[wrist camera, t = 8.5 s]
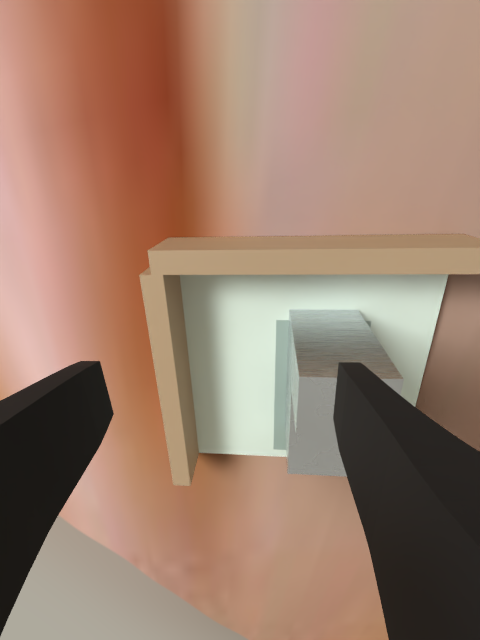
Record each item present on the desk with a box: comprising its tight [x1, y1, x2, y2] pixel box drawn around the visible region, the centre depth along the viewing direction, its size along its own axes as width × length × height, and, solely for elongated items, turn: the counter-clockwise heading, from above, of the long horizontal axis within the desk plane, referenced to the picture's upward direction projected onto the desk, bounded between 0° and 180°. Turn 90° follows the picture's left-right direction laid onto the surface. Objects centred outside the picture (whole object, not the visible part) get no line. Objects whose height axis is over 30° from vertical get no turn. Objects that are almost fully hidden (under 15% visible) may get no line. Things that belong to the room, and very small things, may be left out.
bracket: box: [285, 309, 404, 477], centre depth 18 cm, size 9×4×7 cm, turn 1°
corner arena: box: [139, 234, 480, 486], centre depth 20 cm, size 17×16×4 cm
